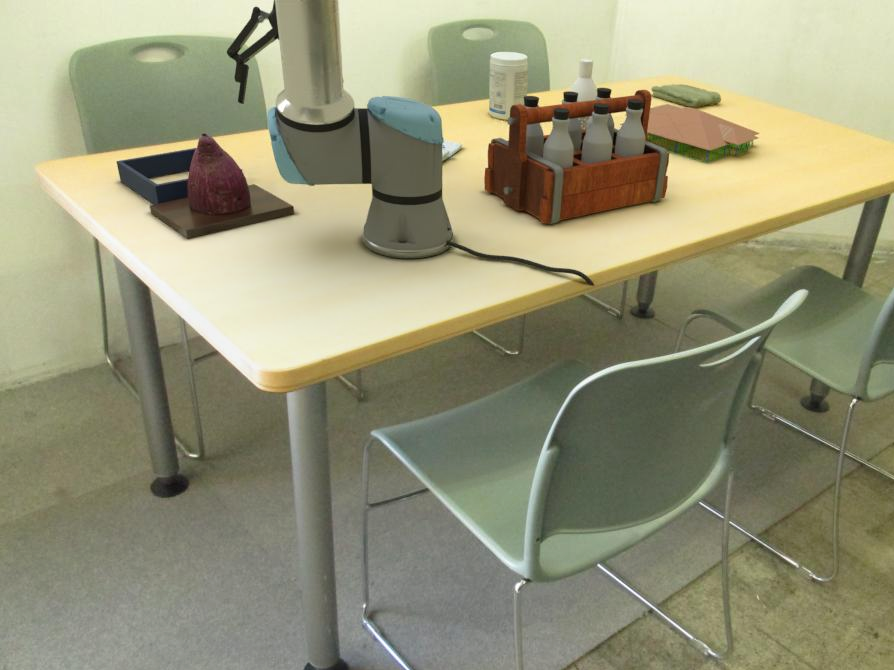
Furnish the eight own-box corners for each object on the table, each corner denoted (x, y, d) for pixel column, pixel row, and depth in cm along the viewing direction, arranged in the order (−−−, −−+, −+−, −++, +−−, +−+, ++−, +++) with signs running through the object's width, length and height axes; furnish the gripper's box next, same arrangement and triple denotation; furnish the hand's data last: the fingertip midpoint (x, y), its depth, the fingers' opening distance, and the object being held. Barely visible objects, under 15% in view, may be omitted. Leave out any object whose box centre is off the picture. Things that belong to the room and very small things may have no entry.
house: (717, 167, 193) (724, 131, 188) (604, 133, 210) (607, 99, 206) (766, 149, 208) (773, 115, 203) (656, 118, 225) (660, 86, 221)
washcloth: (677, 90, 254) (679, 79, 252) (722, 104, 243) (725, 93, 241) (647, 95, 247) (648, 83, 245) (692, 110, 236) (694, 98, 234)
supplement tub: (521, 111, 223) (524, 51, 215) (529, 121, 215) (532, 59, 207) (485, 110, 221) (487, 50, 213) (491, 120, 213) (493, 59, 205)
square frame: (244, 190, 161) (242, 169, 159) (159, 208, 151) (154, 186, 149) (203, 166, 171) (200, 146, 169) (120, 181, 161) (116, 161, 159)
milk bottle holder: (674, 199, 173) (689, 102, 162) (536, 229, 155) (543, 121, 144) (607, 169, 187) (617, 77, 176) (473, 193, 168) (476, 92, 158)
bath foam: (586, 157, 193) (596, 65, 182) (558, 151, 195) (566, 60, 184) (597, 149, 198) (606, 59, 187) (570, 144, 200) (577, 55, 189)
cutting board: (294, 213, 153) (293, 205, 152) (187, 238, 141) (186, 230, 140) (255, 191, 161) (254, 183, 160) (151, 213, 149) (149, 205, 148)
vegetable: (235, 233, 148) (222, 159, 137) (179, 218, 149) (163, 143, 137) (262, 200, 155) (253, 127, 144) (209, 186, 156) (196, 112, 144)
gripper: (368, 13, 157) (348, 130, 161) (227, -26, 150) (210, 97, 154) (369, 4, 150) (349, 127, 153) (221, -37, 143) (204, 92, 147)
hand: (279, 112), depth 154 cm, fingers open, 13 cm apart
